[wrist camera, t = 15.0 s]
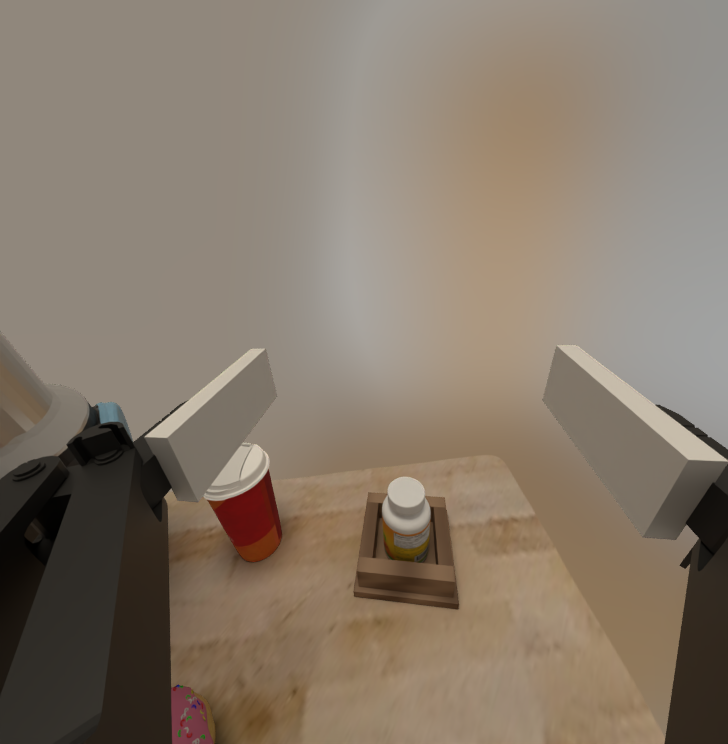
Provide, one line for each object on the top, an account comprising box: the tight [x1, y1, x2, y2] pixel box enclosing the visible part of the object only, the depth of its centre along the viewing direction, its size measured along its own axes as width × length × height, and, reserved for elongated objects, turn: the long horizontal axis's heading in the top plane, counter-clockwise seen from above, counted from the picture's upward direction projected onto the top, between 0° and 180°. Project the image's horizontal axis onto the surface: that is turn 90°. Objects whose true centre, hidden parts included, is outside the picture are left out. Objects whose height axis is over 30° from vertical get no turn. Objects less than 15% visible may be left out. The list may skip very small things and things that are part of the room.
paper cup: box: [203, 443, 282, 562], centre depth 35 cm, size 8×8×14 cm
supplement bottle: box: [382, 477, 431, 563], centre depth 33 cm, size 5×5×10 cm
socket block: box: [354, 492, 459, 609], centre depth 35 cm, size 11×11×4 cm
